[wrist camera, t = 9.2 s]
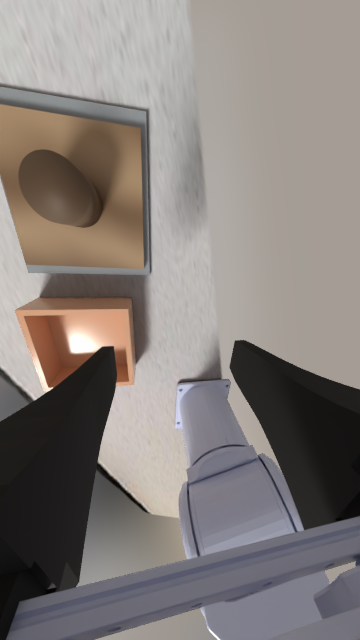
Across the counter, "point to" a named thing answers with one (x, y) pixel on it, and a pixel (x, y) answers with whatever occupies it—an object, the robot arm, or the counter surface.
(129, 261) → the walnut lid
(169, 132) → the counter surface
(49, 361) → the terracotta open box
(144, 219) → the rubber mat
